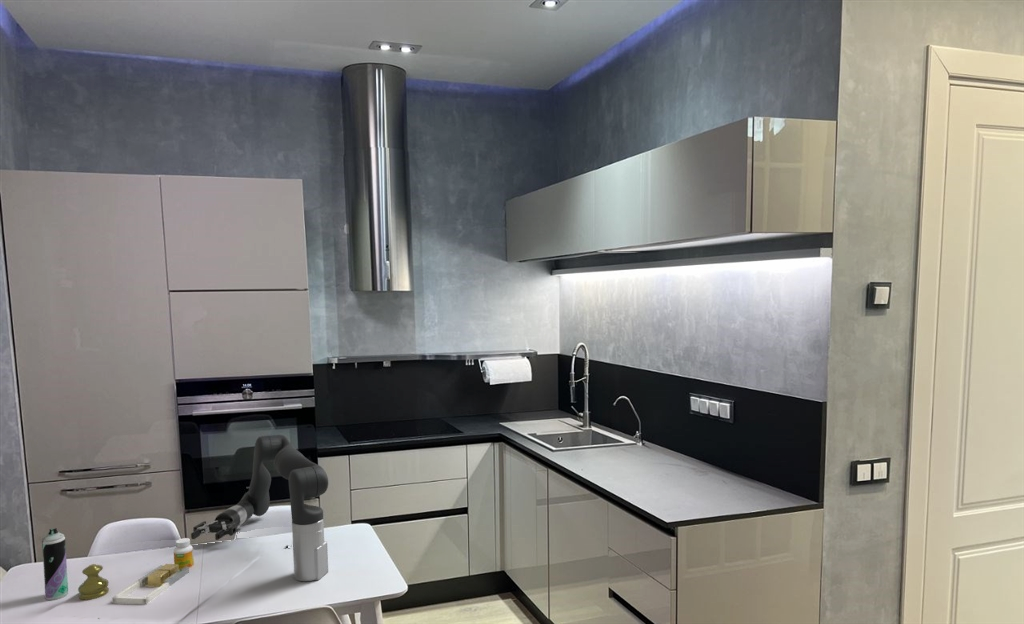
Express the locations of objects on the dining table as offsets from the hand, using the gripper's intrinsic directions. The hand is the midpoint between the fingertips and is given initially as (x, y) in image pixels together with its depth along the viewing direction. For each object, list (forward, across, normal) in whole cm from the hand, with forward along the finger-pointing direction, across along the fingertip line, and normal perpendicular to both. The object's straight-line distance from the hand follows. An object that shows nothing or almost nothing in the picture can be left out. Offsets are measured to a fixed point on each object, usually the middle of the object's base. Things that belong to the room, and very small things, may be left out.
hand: (204, 536), depth 217 cm
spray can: (+30, -28, +7) cm, 41 cm away
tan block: (+23, 0, +5) cm, 24 cm away
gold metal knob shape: (+31, -15, +6) cm, 35 cm away
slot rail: (+21, 0, +6) cm, 22 cm away
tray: (+31, 0, +6) cm, 31 cm away
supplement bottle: (+11, 0, +7) cm, 13 cm away
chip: (+19, 0, +5) cm, 19 cm away
